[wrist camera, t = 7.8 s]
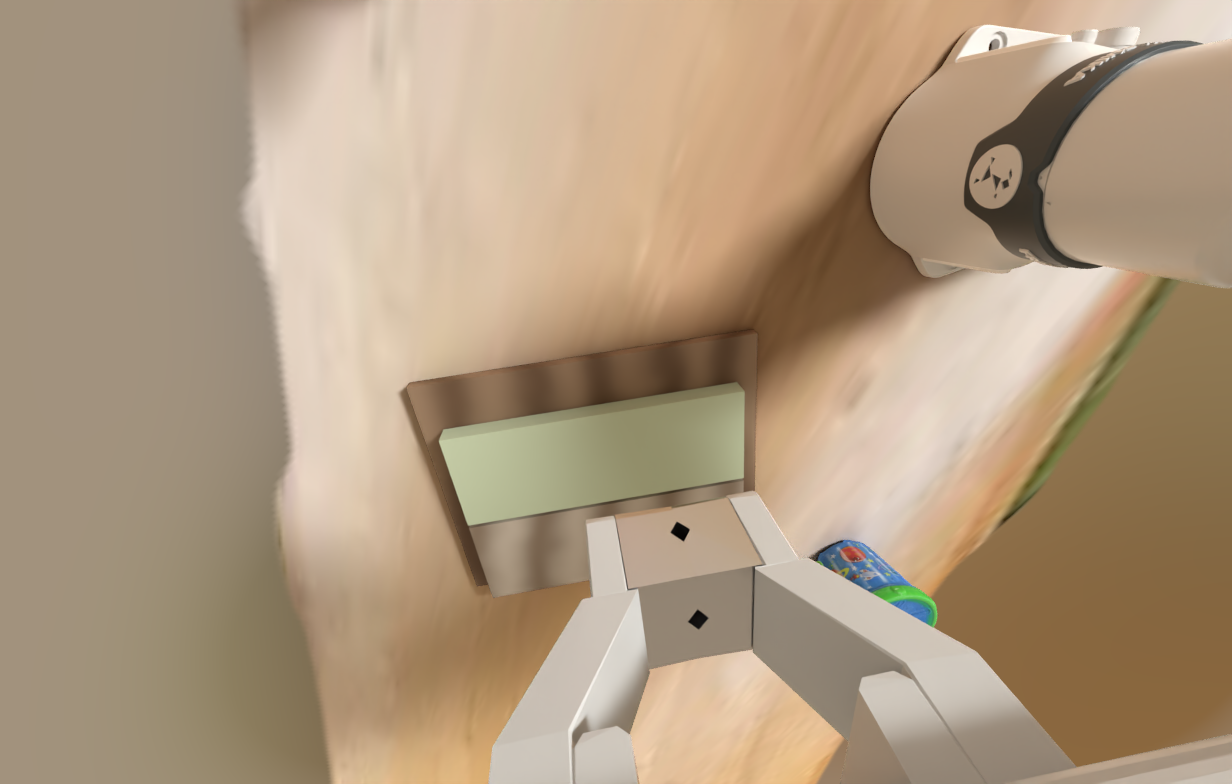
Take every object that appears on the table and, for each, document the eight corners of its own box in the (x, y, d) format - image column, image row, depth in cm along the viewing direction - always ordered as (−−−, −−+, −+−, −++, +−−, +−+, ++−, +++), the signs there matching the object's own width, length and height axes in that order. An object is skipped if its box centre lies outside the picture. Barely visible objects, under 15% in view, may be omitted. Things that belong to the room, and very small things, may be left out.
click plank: (737, 382, 45) (744, 391, 43) (736, 466, 49) (743, 478, 48) (443, 429, 43) (438, 441, 41) (471, 512, 48) (467, 525, 46)
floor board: (752, 329, 44) (766, 340, 41) (749, 529, 55) (760, 549, 52) (409, 382, 42) (399, 398, 39) (478, 577, 53) (474, 601, 51)
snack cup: (908, 554, 61) (971, 623, 51) (850, 605, 64) (899, 678, 55) (829, 507, 55) (883, 575, 46) (769, 565, 58) (809, 639, 49)
